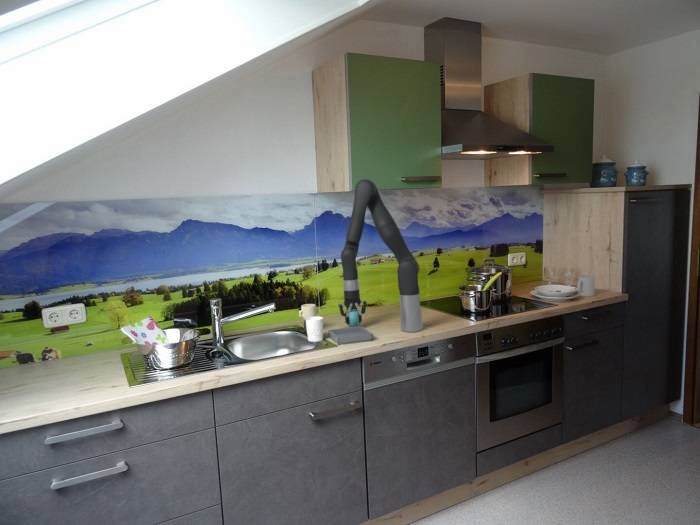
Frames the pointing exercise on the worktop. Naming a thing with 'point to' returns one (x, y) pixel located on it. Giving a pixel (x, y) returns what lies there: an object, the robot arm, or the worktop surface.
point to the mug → (586, 285)
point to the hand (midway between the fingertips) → (353, 323)
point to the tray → (350, 335)
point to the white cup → (314, 328)
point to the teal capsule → (353, 318)
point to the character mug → (308, 312)
